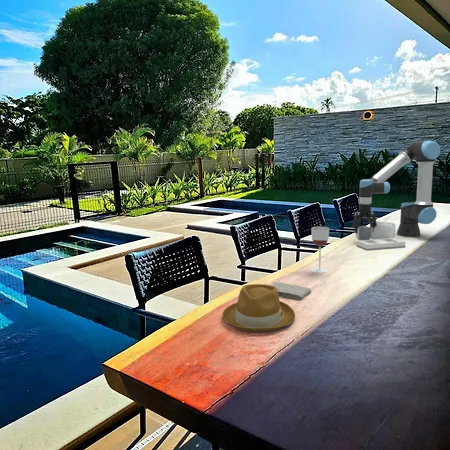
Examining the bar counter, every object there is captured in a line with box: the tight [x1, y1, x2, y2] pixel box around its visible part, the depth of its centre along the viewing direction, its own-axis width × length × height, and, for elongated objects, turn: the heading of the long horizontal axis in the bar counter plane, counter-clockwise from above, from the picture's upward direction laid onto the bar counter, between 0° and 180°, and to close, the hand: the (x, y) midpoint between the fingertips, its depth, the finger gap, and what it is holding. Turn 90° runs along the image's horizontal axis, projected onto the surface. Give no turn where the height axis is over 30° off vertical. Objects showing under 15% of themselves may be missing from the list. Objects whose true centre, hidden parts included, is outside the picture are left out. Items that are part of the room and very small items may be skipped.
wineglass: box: [310, 226, 330, 274], centre depth 203 cm, size 9×10×22 cm
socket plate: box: [356, 237, 406, 251], centre depth 250 cm, size 26×12×4 cm, turn 101°
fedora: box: [222, 283, 296, 333], centre depth 148 cm, size 27×29×12 cm
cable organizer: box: [369, 220, 396, 240], centre depth 268 cm, size 15×11×12 cm
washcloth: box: [271, 281, 312, 301], centre depth 174 cm, size 12×18×3 cm, turn 56°
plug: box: [357, 225, 371, 241], centre depth 261 cm, size 5×6×10 cm
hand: (364, 237), depth 261 cm, fingers open, 9 cm apart
